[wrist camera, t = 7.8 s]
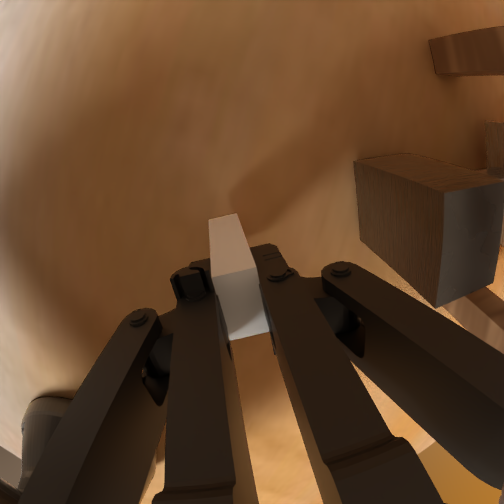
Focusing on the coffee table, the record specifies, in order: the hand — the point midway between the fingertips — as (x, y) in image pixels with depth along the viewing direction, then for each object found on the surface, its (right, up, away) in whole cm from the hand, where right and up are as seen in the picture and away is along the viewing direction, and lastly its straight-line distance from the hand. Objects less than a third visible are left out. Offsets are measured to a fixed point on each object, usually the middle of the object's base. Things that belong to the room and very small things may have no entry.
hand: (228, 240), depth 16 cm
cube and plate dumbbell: (+14, +4, +1) cm, 14 cm away
